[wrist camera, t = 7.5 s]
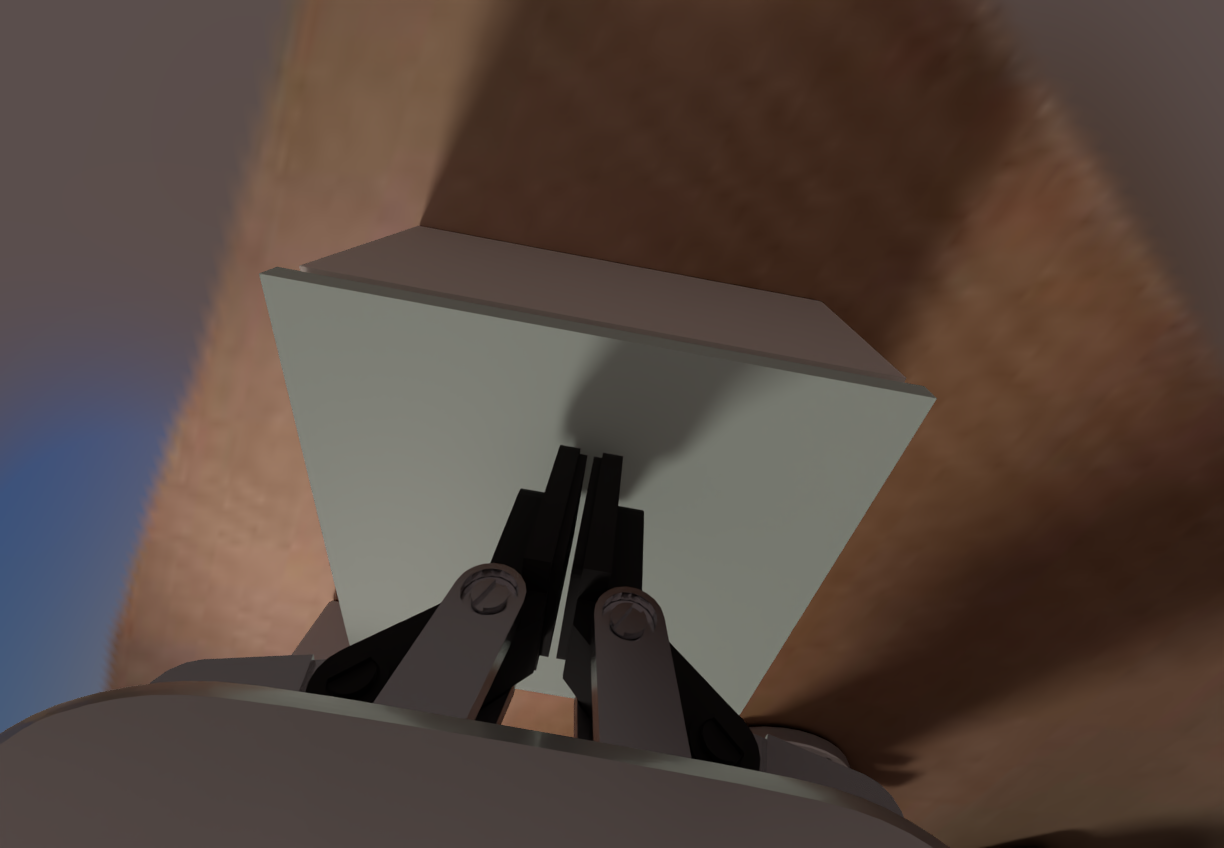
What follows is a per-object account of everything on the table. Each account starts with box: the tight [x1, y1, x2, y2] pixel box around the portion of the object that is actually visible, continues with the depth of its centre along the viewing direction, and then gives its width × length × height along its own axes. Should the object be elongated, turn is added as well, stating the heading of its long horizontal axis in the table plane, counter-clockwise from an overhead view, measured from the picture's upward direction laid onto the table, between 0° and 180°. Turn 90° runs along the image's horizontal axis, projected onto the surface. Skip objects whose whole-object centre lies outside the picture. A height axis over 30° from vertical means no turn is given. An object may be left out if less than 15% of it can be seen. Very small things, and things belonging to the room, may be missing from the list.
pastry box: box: [300, 226, 906, 383], centre depth 19 cm, size 16×16×7 cm
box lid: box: [259, 267, 937, 715], centre depth 15 cm, size 16×16×1 cm
